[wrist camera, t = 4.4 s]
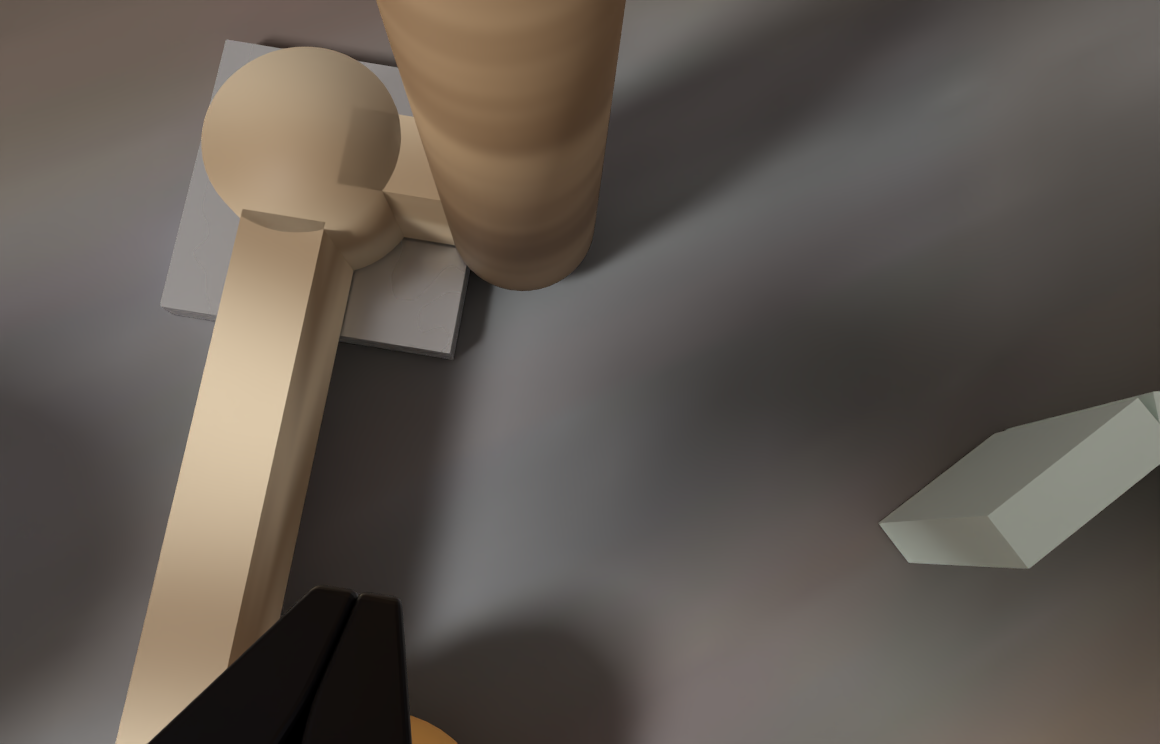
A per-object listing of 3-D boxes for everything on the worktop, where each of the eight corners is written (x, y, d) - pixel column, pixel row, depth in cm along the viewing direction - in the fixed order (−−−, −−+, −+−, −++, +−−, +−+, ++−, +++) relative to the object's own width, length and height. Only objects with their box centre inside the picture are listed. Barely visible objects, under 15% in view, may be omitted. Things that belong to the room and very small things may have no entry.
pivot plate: (236, 56, 21) (226, 39, 20) (502, 99, 21) (500, 84, 20) (173, 314, 20) (159, 306, 19) (453, 360, 20) (449, 353, 19)
